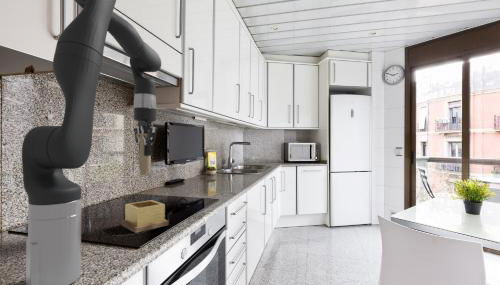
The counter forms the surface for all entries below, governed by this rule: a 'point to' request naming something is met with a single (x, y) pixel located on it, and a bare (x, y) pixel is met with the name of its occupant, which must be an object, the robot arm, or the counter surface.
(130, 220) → the sleeve block
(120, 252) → the counter surface
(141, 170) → the handle
